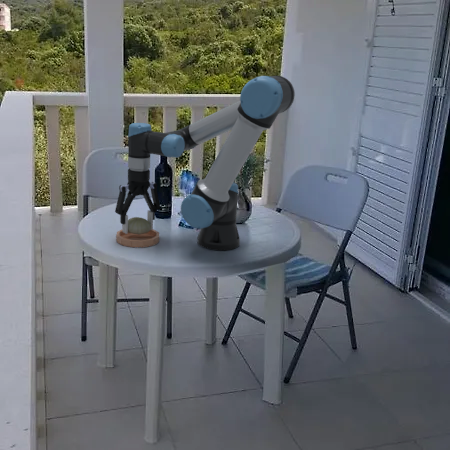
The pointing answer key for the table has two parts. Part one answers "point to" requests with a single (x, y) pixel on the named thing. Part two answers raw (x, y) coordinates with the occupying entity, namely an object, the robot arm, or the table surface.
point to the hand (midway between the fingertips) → (137, 230)
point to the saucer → (138, 239)
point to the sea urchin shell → (138, 226)
